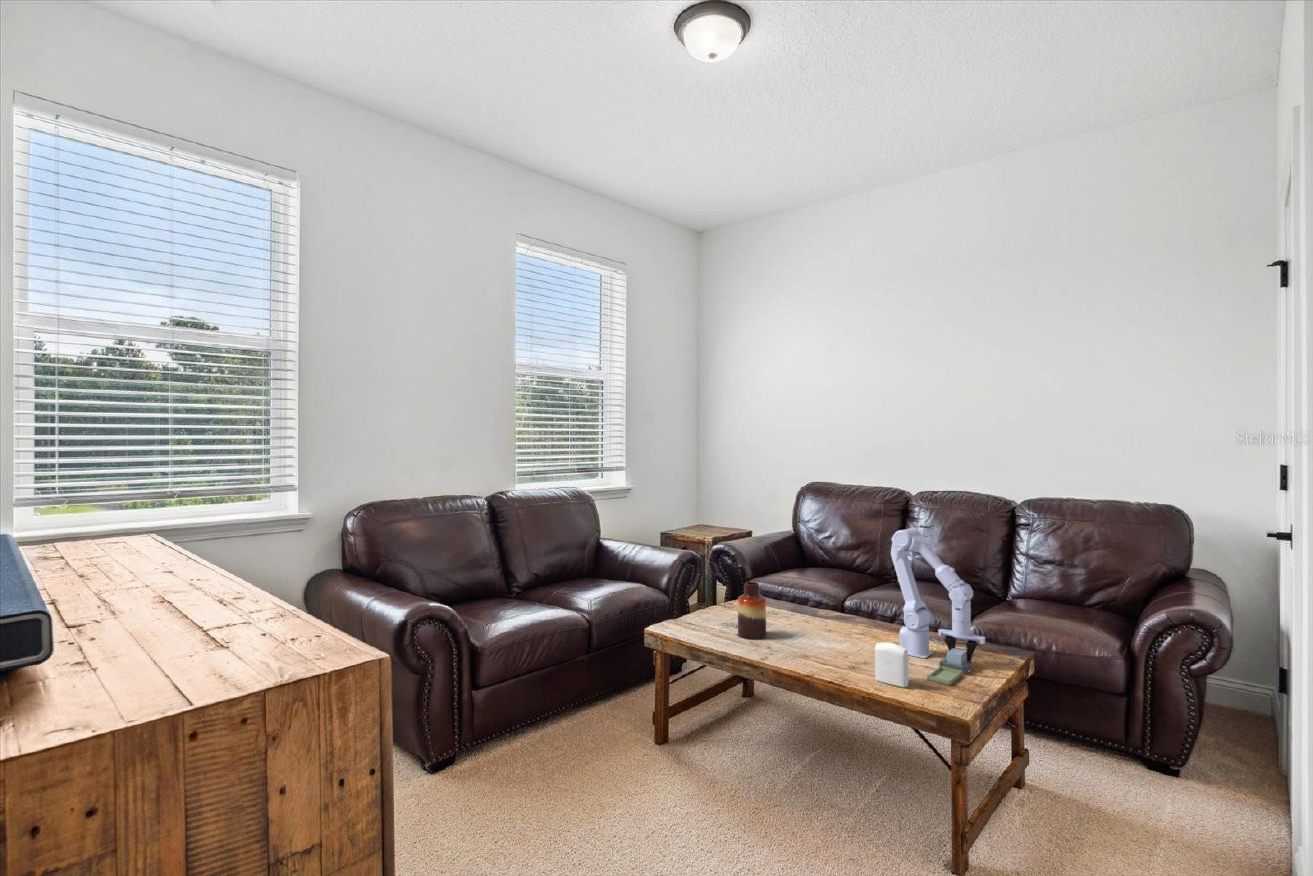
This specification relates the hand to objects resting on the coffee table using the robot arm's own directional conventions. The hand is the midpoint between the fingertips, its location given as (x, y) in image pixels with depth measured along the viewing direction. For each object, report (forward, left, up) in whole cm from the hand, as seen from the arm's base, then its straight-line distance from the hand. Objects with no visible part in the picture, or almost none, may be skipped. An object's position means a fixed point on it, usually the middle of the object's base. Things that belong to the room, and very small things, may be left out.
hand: (961, 660), depth 222 cm
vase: (-71, -20, -2) cm, 74 cm away
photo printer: (-11, -32, -2) cm, 33 cm away
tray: (0, -16, -1) cm, 16 cm away
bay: (0, -6, -1) cm, 6 cm away
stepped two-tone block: (0, -3, -1) cm, 3 cm away
